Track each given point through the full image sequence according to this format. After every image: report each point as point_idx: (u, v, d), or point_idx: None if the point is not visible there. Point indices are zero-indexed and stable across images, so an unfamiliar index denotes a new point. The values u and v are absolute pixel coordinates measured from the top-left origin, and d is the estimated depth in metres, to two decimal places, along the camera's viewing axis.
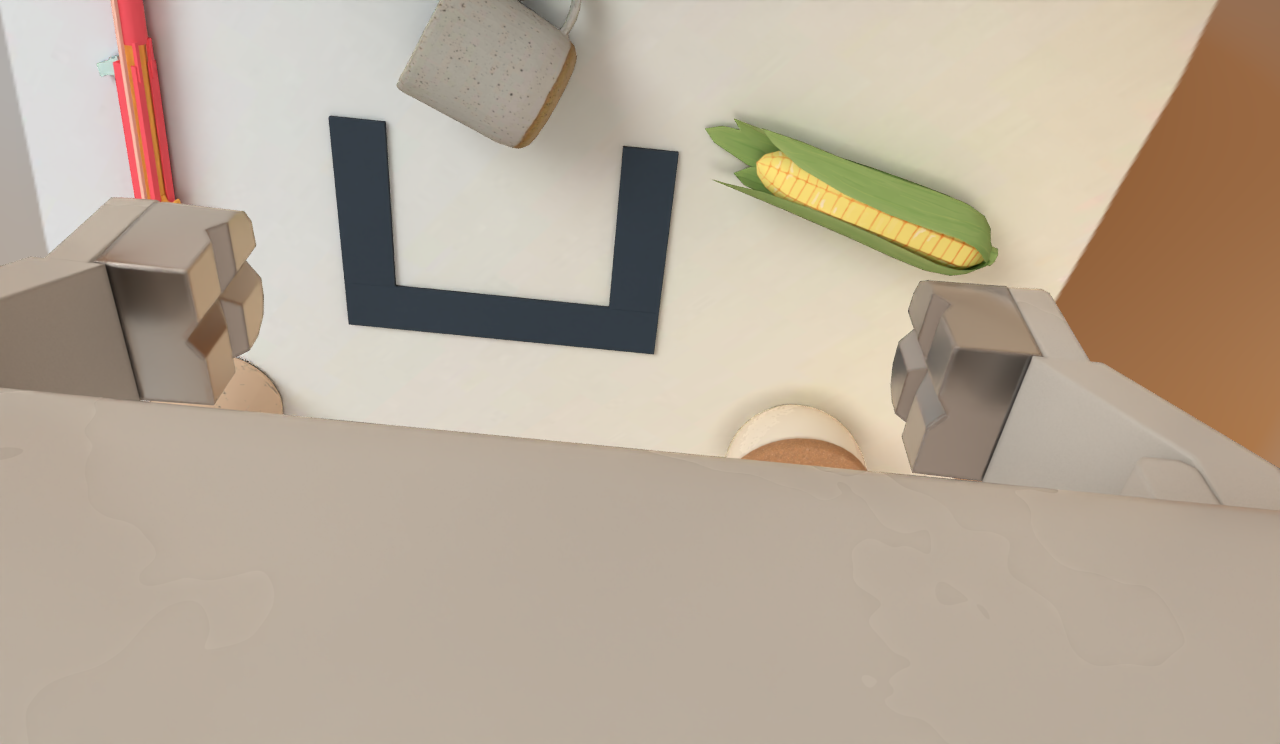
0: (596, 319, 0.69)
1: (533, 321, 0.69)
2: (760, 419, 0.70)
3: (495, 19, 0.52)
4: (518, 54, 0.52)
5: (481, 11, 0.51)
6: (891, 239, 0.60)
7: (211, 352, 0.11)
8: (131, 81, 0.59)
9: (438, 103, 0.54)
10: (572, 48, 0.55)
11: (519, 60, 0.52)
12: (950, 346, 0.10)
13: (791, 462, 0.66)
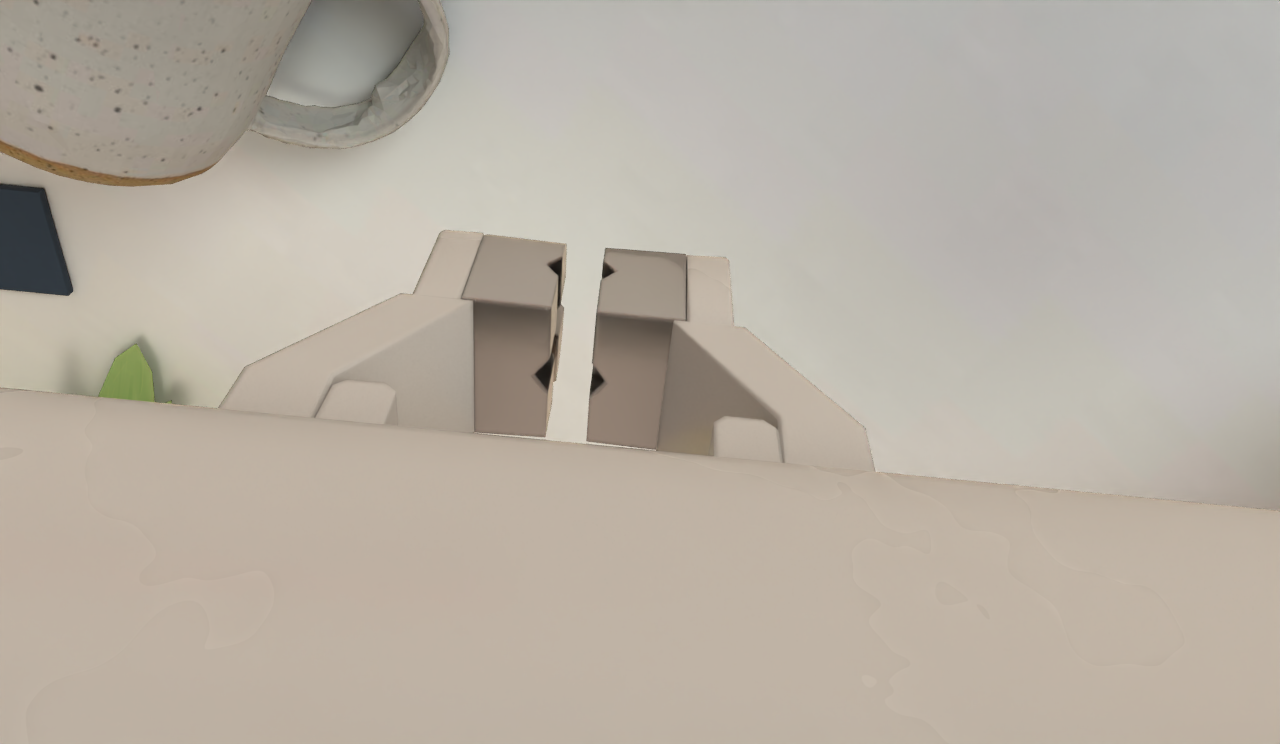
0: None
1: None
2: None
3: (235, 28, 0.20)
4: (159, 95, 0.20)
5: None
6: None
7: (548, 385, 0.11)
8: None
9: None
10: (220, 159, 0.24)
11: (143, 101, 0.20)
12: (599, 311, 0.10)
13: None
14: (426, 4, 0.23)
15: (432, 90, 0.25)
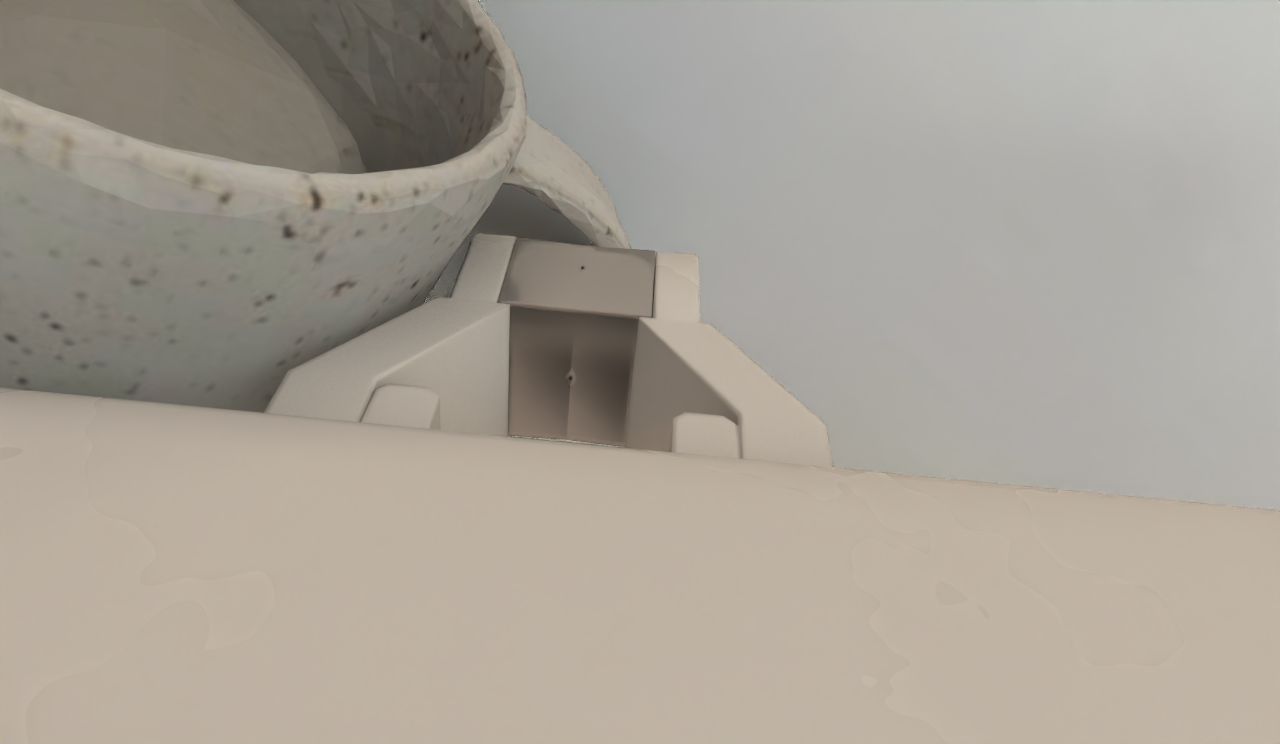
0: None
1: None
2: None
3: None
4: None
5: (335, 345, 0.10)
6: None
7: None
8: None
9: None
10: None
11: None
12: None
13: None
14: None
15: None
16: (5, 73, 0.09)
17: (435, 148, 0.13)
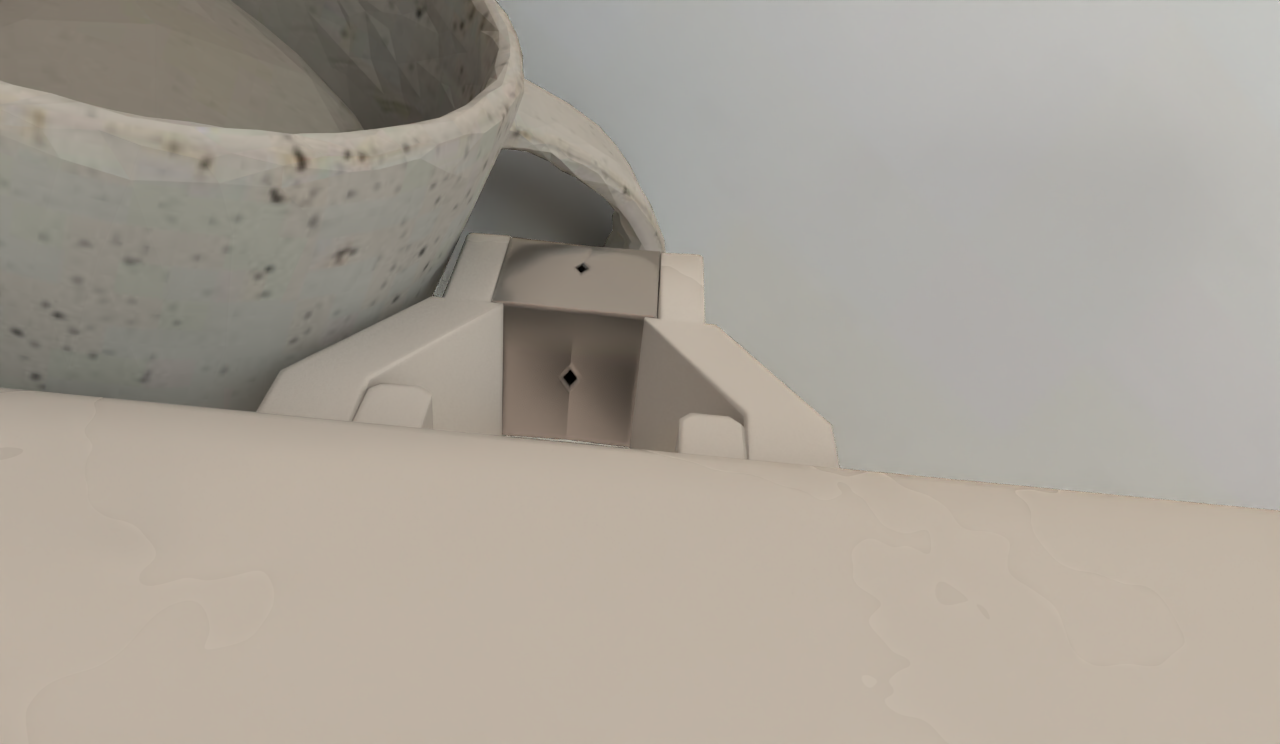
0: None
1: None
2: None
3: None
4: None
5: (348, 320, 0.10)
6: None
7: None
8: None
9: None
10: None
11: None
12: (570, 308, 0.10)
13: None
14: (633, 217, 0.13)
15: None
16: None
17: None
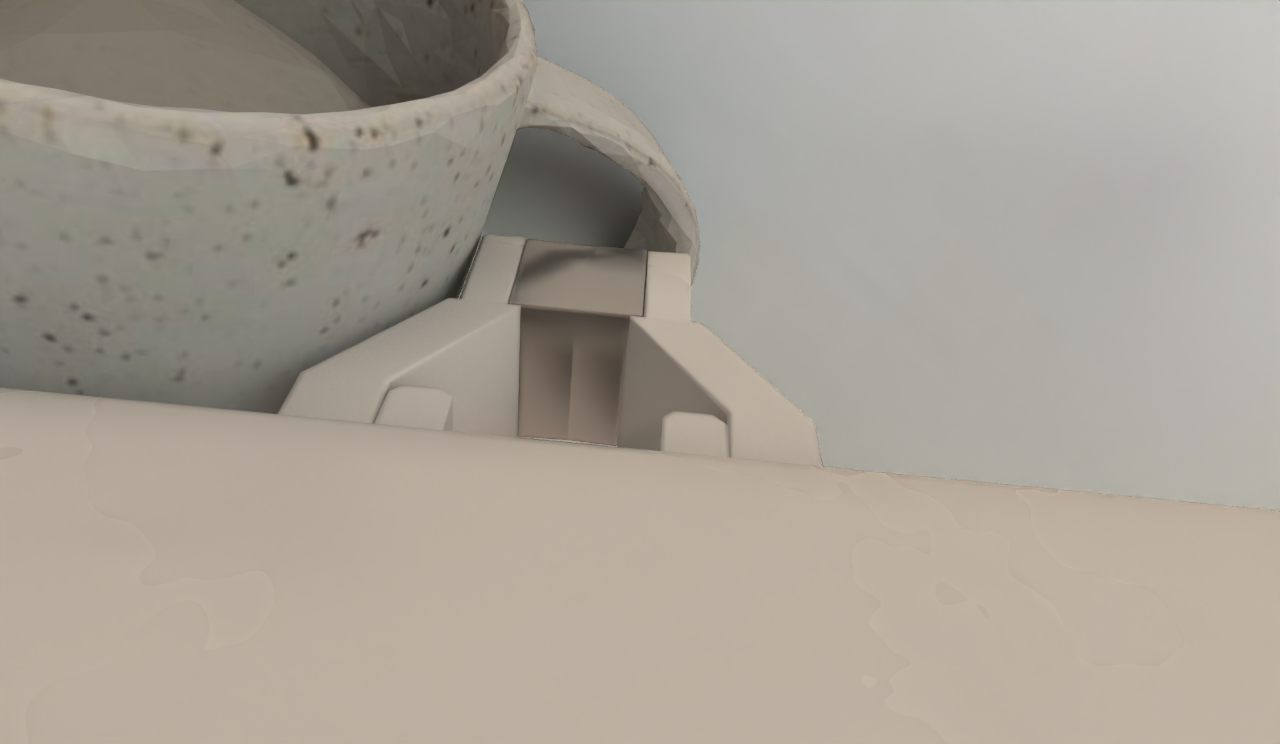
0: None
1: None
2: None
3: None
4: None
5: (376, 306, 0.10)
6: None
7: None
8: None
9: None
10: None
11: None
12: None
13: None
14: (661, 188, 0.13)
15: None
16: None
17: None
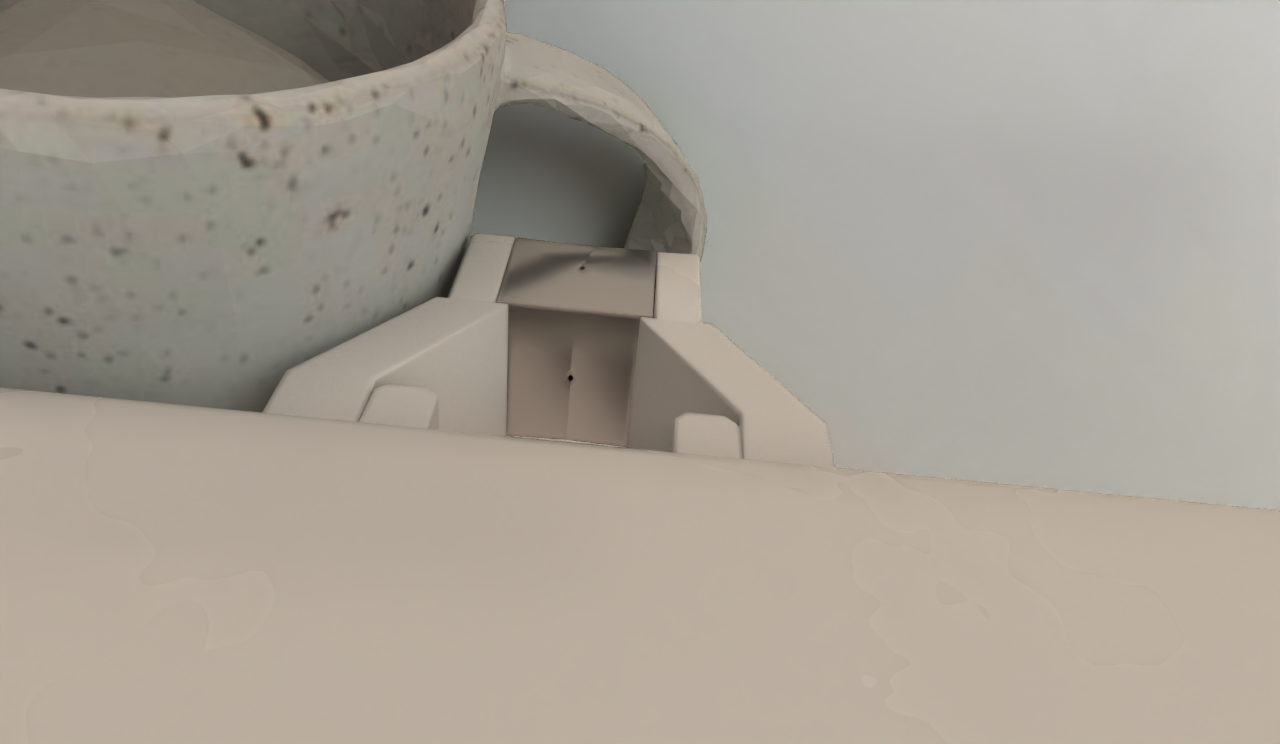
0: None
1: None
2: None
3: None
4: None
5: (362, 292, 0.09)
6: None
7: None
8: None
9: None
10: None
11: None
12: None
13: None
14: (656, 155, 0.13)
15: None
16: None
17: None
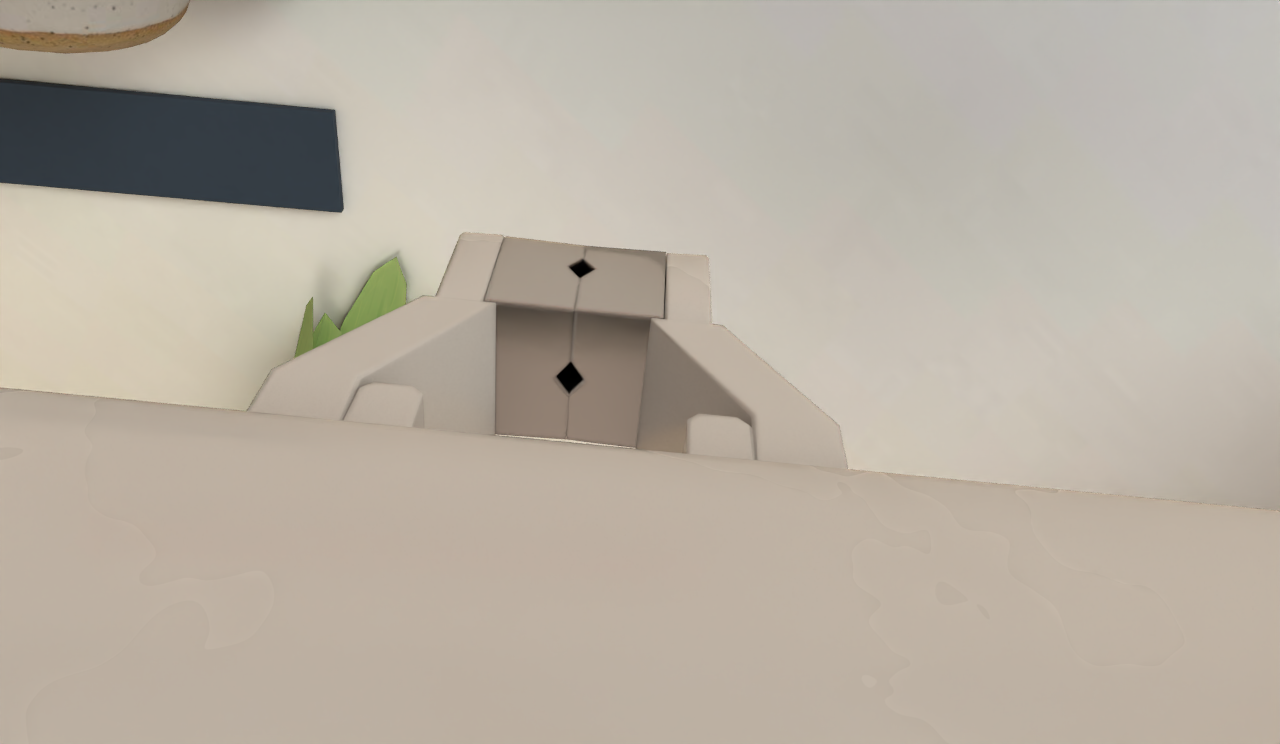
0: None
1: None
2: None
3: None
4: None
5: None
6: None
7: (569, 387, 0.11)
8: None
9: None
10: (179, 18, 0.26)
11: None
12: (577, 309, 0.10)
13: None
14: None
15: None
16: None
17: None
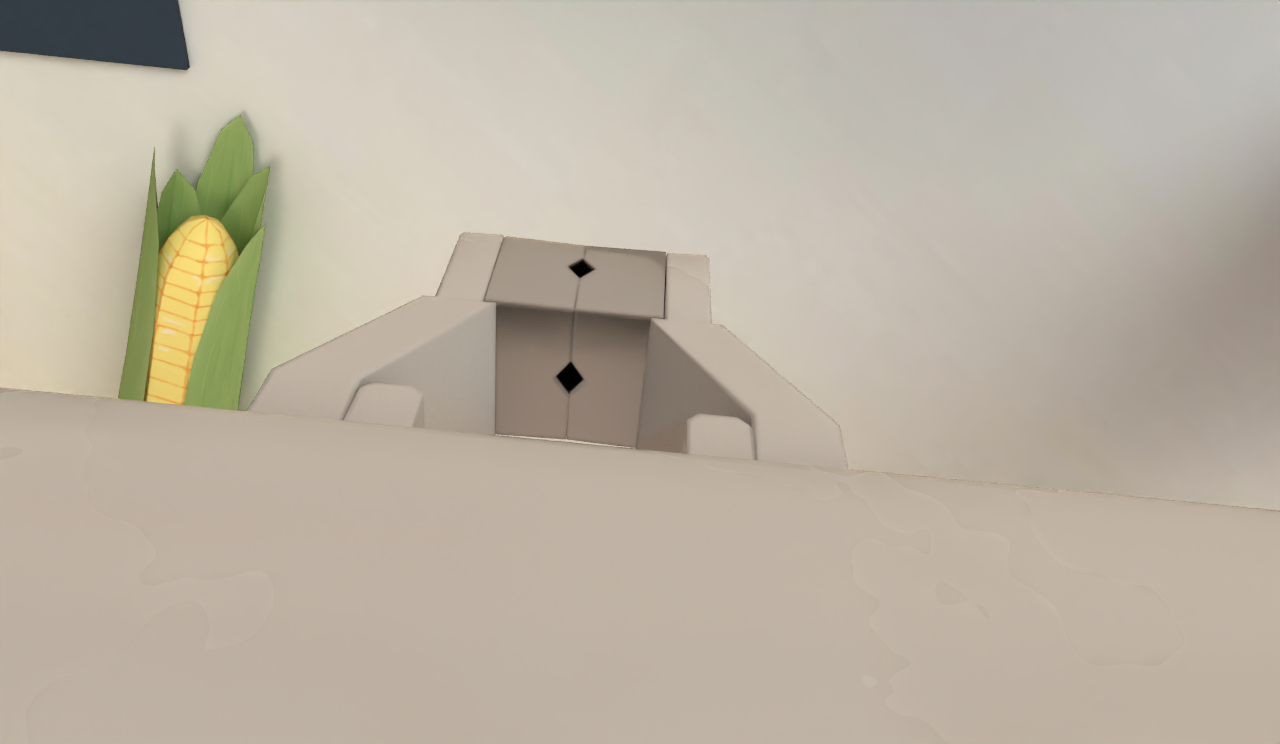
0: None
1: None
2: None
3: None
4: None
5: None
6: None
7: (568, 387, 0.11)
8: None
9: None
10: None
11: None
12: (577, 309, 0.10)
13: None
14: None
15: None
16: None
17: None
